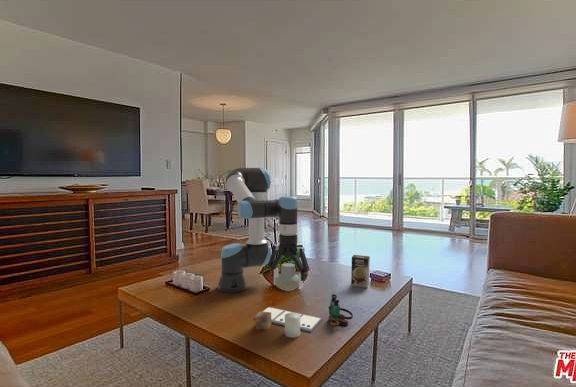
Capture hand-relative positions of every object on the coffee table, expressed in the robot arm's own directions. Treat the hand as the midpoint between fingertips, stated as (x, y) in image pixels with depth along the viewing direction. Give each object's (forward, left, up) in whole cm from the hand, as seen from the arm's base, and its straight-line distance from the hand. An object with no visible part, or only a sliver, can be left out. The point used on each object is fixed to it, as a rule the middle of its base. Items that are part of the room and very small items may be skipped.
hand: (288, 286), depth 134 cm
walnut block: (-6, -10, -14) cm, 19 cm away
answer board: (0, 0, -14) cm, 14 cm away
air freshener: (0, 0, -1) cm, 1 cm away
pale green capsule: (+7, -10, -14) cm, 19 cm away
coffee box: (+16, +56, -15) cm, 60 cm away
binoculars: (+20, +8, -15) cm, 26 cm away
